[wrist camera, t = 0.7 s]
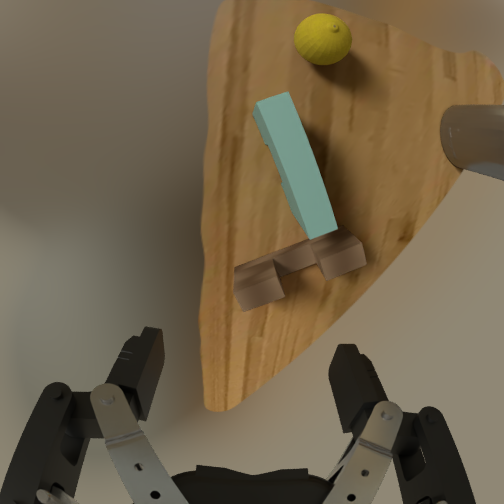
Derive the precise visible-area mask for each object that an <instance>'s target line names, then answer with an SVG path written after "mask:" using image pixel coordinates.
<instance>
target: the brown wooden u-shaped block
mask: <svg viewBox="0 0 504 504" xmlns="http://www.w3.org/2000/svg"><path fill="white" fill-rule="evenodd" d="M315 263H317V265H318V267H319V268H320V270H321V272H322V274H323V276H324V277H325V279H326V281H328V280H330V279H333V278H335V277H338V276H340V275H343V274H345V273H348V272H350V271H352V270H355V269H357V268H360V267H362V266H364V265H367V263H366V258H365V254H364V249H363V245H362V243H361V242H360V241H359V240H358V239H357V238H356V237H355V236H354V235H353V234H352V233H351V232H350V231H349V230H348V229H346V228H345V227H344V226H343V225H342V226H340V227H338V229H336V230H334V231H331V232H329V233H326V234H324V235H321V236H319V237H316V238H313V239H311V240H310V239H307V240H304V241H302V242H299V243H296V244H294V245H291V246H289V247H286V248H284V249H281V250H278V251H276V252H273V253H271V254H268V255H265V256H263V257H260V258H258V259H255V260H252V261H250V262H247V263H245V264H242V265H239V266H237V267H235V270H234V289H233V293H234V295H235V297H236V299H237V301H238V303H239V305H240V307H241V309H242V310H243V312H245V311H248V310H251V309H253V308H256V307H259V306H262V305H265V304H267V303H270V302H273V301H276V300H278V299H281V298H284V297H285V294H284V290H283V287H282V283H281V279H280V277H281V276H284V275H287V274H289V273H292V272H294V271H297V270H300V269H302V268H305V267H307V266H310V265H312V264H315Z"/></svg>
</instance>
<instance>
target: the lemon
mask: <svg viewBox="0 0 504 504" xmlns="http://www.w3.org/2000/svg"><path fill="white" fill-rule="evenodd" d="M294 43H295V47H296V49H297V51H298V53H299V54H300V55H301V56H302V57H303V58H304V59H306V60H307V61H309V62H311V63H313V64H317V65H329V64H334V63H336V62H338V61H340V60H342V59H343V58H344V57H345V56H346V55H347V53H348V51H349V50H350V48H351V43H352V36H351V32H350V30H349V28H348V26H347V25H346V24H345V23H344V22H343V21H342V20H341V19H339V18H338V17H336V16H333V15H330V14H315V15H312V16H309V17H308V18H306V19H305V20H303V21H302V22H301V23H300V24H299V26H298V27H297V29H296V31H295V34H294Z"/></svg>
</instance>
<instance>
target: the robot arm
mask: <svg viewBox="0 0 504 504" xmlns="http://www.w3.org/2000/svg"><path fill="white" fill-rule="evenodd" d="M440 132H441V142H442V146H443V149H444V151H445V154H446V156H447V157H448V159H449V160H450V161H451V162H452V163H453V164H454V165H455V166H457V167H458V168H462V169H466V170H470V171H473V172H477V173H480V174H483V175H487V176H491V177H493V178H497V179H500V180H503V181H504V105H454V106H451V107H450V108H448V109H447V111H446V112H445V113H444V115H443V118H442V121H441V128H440ZM164 359H165V353H164V343H163V333H162V329H157V328H152V327H145V328H144V329H143V331H142V333H141V336H140V337H138V336H132V337H131V338H130V339H129V340H128V341H126V342H125V344H124V346H123V348H122V350H121V352H120V354H119V356H118V358H117V360H116V362H115V364H114V366H113V368H112V370H111V372H110V374H109V376H108V378H107V380H106V382H105V383H104V384H101V385H98V386H97V387H95V388H94V389H93V391H91V392H72V391H71V389H70V388H69V386H67V385H66V384H64V383H61V382H54V383H51V384H49V385H48V386H46V387H45V389H44V390H43V392H42V394H41V396H40V398H39V400H38V402H37V404H36V406H35V408H34V410H33V412H32V414H31V416H30V418H29V420H28V422H27V424H26V427H25V429H24V431H23V433H22V436H21V438H20V440H19V443H18V445H17V448H16V450H15V452H14V455H13V458H12V461H11V463H10V466H9V468H8V471H7V474H6V477H5V480H4V483H3V486H2V489H1V492H0V504H79V503H78V502H77V501H76V500H75V499H74V496H75V491H76V487H77V483H78V479H79V476H80V472H81V468H82V465H83V461H84V457H85V454H86V450H87V448H88V444H89V441H90V438H104V439H105V445H106V447H107V450H108V452H109V454H110V457H111V459H112V461H113V463H114V465H115V468H116V469H117V471H118V474H119V475H120V477H121V480H122V482H123V484H124V486H125V487H126V489H127V491H128V493H129V495H130V496H131V498H132V500H133V502H134V503H133V504H371V503H372V501H373V499H374V497H375V495H376V493H377V491H378V489H379V487H380V485H381V483H382V481H383V478H384V476H385V474H386V472H387V469H388V467H389V465H390V462H391V460H392V458H393V462H394V465H395V470H396V473H397V478H398V482H399V487H400V491H401V495H402V500H403V504H476V502H475V499H474V496H473V492H472V489H471V487H470V483H469V480H468V477H467V474H466V471H465V469H464V466H463V463H462V460H461V458H460V455H459V452H458V450H457V447H456V445H455V443H454V440H453V438H452V435H451V433H450V430H449V428H448V426H447V424H446V421H445V419H444V417H443V415H442V413H441V412H440V411H439V410H438V409H436V408H434V407H430V406H428V407H424V408H422V410H421V411H420V412H419V413H408V412H402V410H401V408H400V407H399V406H398V405H397V404H395V403H393V402H391V401H389V400H388V398H387V396H386V393H385V391H384V389H383V387H382V384H381V382H380V380H379V378H378V375H377V373H376V371H375V369H374V366H373V364H372V362H371V361H370V360H369V359H368V358H367V357H366V356H365V355H364V354H360V353H359V351H358V348H357V346H356V345H355V344H339V345H338V347H337V349H336V352H335V354H334V357H333V360H332V362H331V364H330V367H329V381H330V385H331V388H332V392H333V396H334V399H335V403H336V407H337V410H338V414H339V418H340V422H341V425H342V429H343V433H349V432H352V434H353V437H352V439H351V441H350V442H349V444H348V446H347V448H346V449H345V451H344V453H343V454H342V456H341V458H340V459H339V461H338V463H337V464H336V466H335V467H334V469H333V470H332V472H331V473H330V474H329V475H328V477H327V478H326V479H323V478H321V477H318V476H314V475H309V474H308V469H307V468H303V469H282V470H277V471H273V472H268V473H264V474H259V475H249V474H245V473H241V472H237V471H234V470H230V469H227V468H221V467H211V466H202V465H197V466H196V471H188V472H183V473H180V474H177V475H175V476H172V477H170V476H169V474H168V473H167V471H166V470H165V468H164V466H163V465H162V463H161V462H160V460H159V458H158V457H157V455H156V453H155V452H154V450H153V448H152V447H151V445H150V443H149V441H148V439H147V437H146V436H145V434H144V432H143V431H142V430H141V428H140V427H139V425H138V420H143V421H146V420H147V417H148V413H149V410H150V407H151V403H152V400H153V397H154V394H155V390H156V387H157V384H158V381H159V378H160V375H161V372H162V368H163V365H164ZM421 449H422V451H421ZM422 452H423V454H422ZM423 455H424V457H423ZM424 458H425V460H424ZM425 462H426V463H425Z"/></svg>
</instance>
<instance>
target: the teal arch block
mask: <svg viewBox="0 0 504 504" xmlns="http://www.w3.org/2000/svg"><path fill="white" fill-rule="evenodd" d="M253 116H254V119H255V121H256V123H257V126H258V128H259V130H260V133H261V135H262V138H263V140H264V142H265V145H268V146H269V149H270V151H271V154H272V156H273V159H274V161H275V164H276V166H277V169H278V171H279V174H280V176H281V179H282V181H283V182H282V183H281V185H282V187H283V190H284V192H285V195H286V198H287V200H288V203H289V206H290V208H291V211H292V213H293V215H294V216H295V218H296V219H297V221H298V222H299V224H300V225H301V227H302V228H303V230H304V231H305V233H306V234H307V236H308V238H309V239H310V240H311V239H313V238H316V237H319V236H321V235H324V234H326V233H329V232H331V231H334V230H336V229H338V227H337V224H336V221H335V217H334V214H333V211H332V208H331V204H330V201H329V198H328V195H327V192H326V189H325V186H324V183H323V180H322V177H321V174H320V171H319V169H318V166H317V163H316V160H315V157H314V155H313V152H312V149H311V147H310V144H309V141H308V139H307V136H306V134H305V131H304V128H303V126H302V123H301V121H300V119H299V116H298V114H297V111H296V109H295V106H294V104H293V102H292V99H291V97H290V95H289V92H285V93H282V94H279V95H276V96H273V97H270V98H267V99H264V100H261V101H259V102H256V105H255V108H254V111H253Z"/></svg>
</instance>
